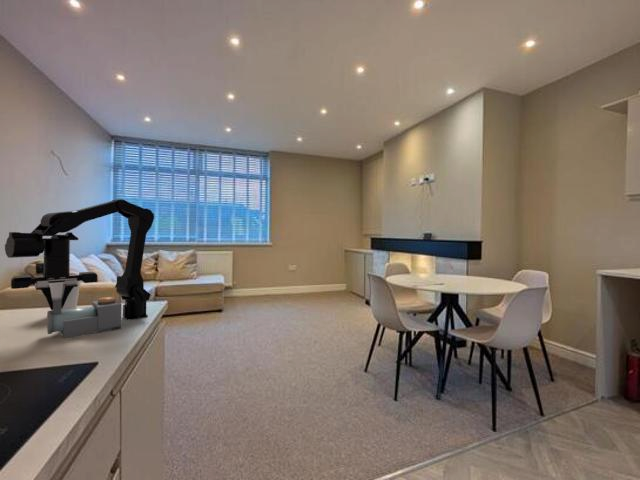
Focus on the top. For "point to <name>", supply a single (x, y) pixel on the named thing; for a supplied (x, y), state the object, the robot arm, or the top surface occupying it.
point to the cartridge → (65, 315)
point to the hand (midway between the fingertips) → (56, 308)
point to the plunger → (106, 300)
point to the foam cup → (72, 297)
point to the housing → (94, 321)
